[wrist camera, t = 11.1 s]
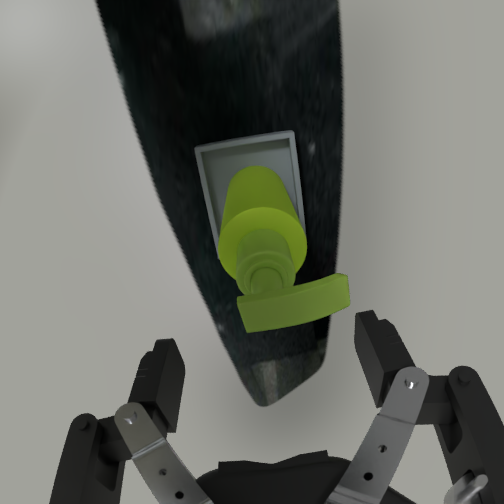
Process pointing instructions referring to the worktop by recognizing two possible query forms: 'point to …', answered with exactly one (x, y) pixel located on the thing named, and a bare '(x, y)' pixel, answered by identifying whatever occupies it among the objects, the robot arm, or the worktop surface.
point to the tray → (241, 156)
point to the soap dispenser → (271, 256)
